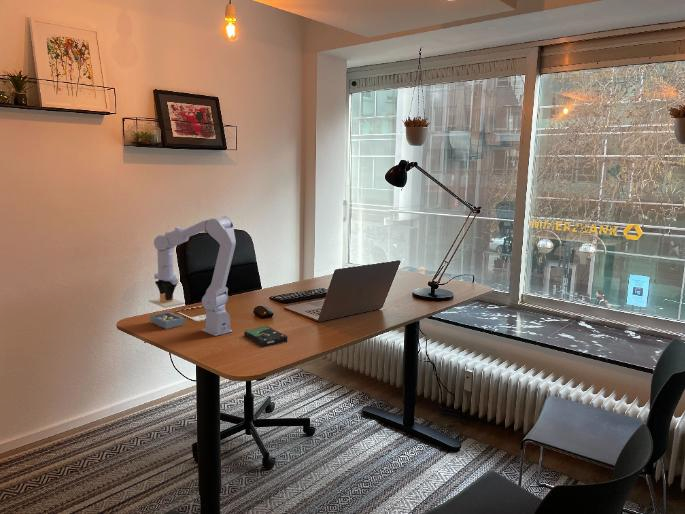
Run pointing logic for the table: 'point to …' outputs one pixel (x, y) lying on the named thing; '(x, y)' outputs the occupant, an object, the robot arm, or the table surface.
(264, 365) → the table surface
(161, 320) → the tub
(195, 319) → the photo frame
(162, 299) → the lid
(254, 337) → the disk drive
